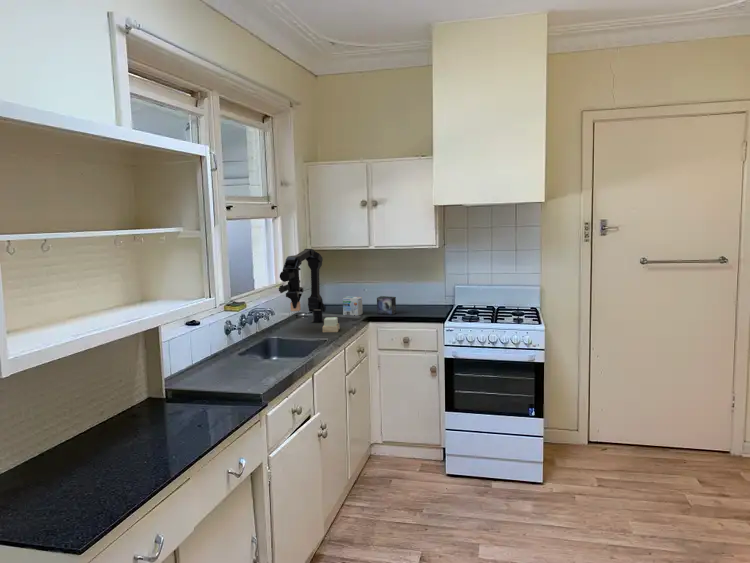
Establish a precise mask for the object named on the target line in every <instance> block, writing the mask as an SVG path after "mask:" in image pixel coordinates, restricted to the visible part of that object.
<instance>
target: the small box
mask: <svg viewBox="0 0 750 563" xmlns="http://www.w3.org/2000/svg"><path fill="white" fill-rule="evenodd" d="M396 302H397V300H396V296H387V295H386V296H384V295H380V296H377V297H376V309H377V310H376V313H377V315H387V316H389V315H390V316H393V315H395V314H397V305H396V304H397V303H396Z"/></svg>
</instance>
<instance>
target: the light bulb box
mask: <svg viewBox="0 0 750 563" xmlns="http://www.w3.org/2000/svg"><path fill="white" fill-rule="evenodd" d="M342 310H343V311H342V314H343V316H354V315H355V316H360V315H363V314H364V312H363V297H362V296H345V297H343V298H342Z"/></svg>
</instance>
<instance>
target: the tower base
mask: <svg viewBox="0 0 750 563" xmlns="http://www.w3.org/2000/svg"><path fill="white" fill-rule="evenodd" d="M339 330H340V322H339V323H338V324H337V326H324V324H323V326H322V333H339Z"/></svg>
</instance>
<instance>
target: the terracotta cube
mask: <svg viewBox="0 0 750 563" xmlns="http://www.w3.org/2000/svg"><path fill="white" fill-rule="evenodd" d="M301 309H302V308H301V301H299V302H298V303H297V306H296V308H293V304H292V301H291V302H290V311H291V312H300V311H301Z"/></svg>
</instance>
